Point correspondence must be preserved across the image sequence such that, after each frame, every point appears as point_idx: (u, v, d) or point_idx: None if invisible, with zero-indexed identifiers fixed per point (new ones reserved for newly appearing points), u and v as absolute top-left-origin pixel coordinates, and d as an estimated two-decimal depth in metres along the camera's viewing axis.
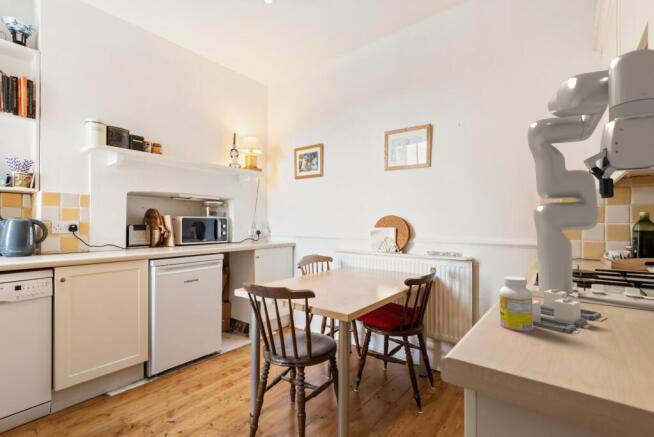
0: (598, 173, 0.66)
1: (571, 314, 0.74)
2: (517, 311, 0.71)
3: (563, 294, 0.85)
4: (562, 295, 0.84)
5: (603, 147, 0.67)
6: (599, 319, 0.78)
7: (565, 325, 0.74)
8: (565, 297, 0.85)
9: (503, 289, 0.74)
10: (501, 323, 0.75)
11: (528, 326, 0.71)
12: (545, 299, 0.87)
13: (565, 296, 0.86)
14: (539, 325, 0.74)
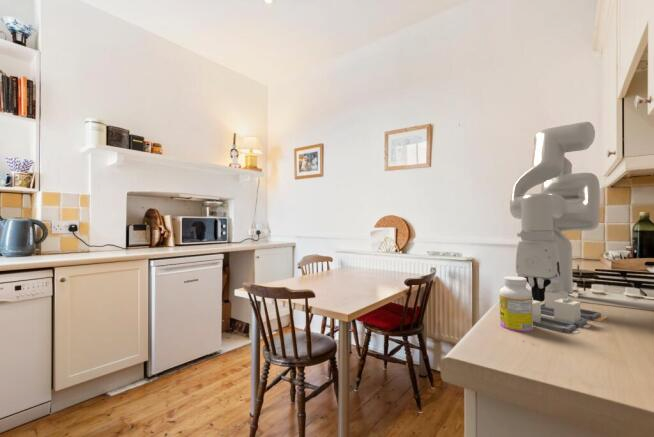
0: None
1: (571, 314, 0.74)
2: (517, 311, 0.71)
3: (564, 294, 0.85)
4: (563, 295, 0.84)
5: (557, 260, 0.86)
6: (599, 319, 0.78)
7: (565, 325, 0.74)
8: (566, 297, 0.85)
9: (503, 289, 0.74)
10: (501, 323, 0.75)
11: (528, 326, 0.71)
12: (546, 299, 0.87)
13: (566, 297, 0.85)
14: (539, 325, 0.74)
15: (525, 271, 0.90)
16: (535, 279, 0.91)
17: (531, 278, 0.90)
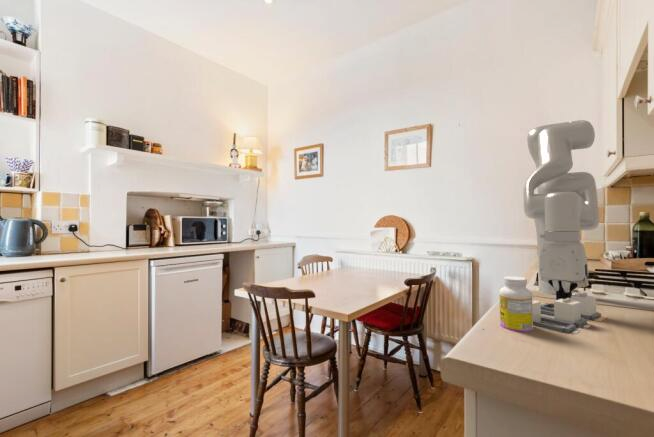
0: None
1: (571, 314, 0.74)
2: (517, 311, 0.71)
3: (592, 299, 0.79)
4: (591, 300, 0.79)
5: (584, 263, 0.80)
6: (599, 319, 0.78)
7: (565, 325, 0.74)
8: (594, 302, 0.80)
9: (503, 289, 0.74)
10: (501, 323, 0.75)
11: (528, 326, 0.71)
12: None
13: (595, 301, 0.80)
14: (539, 325, 0.74)
15: (550, 274, 0.85)
16: (560, 282, 0.86)
17: (556, 281, 0.85)
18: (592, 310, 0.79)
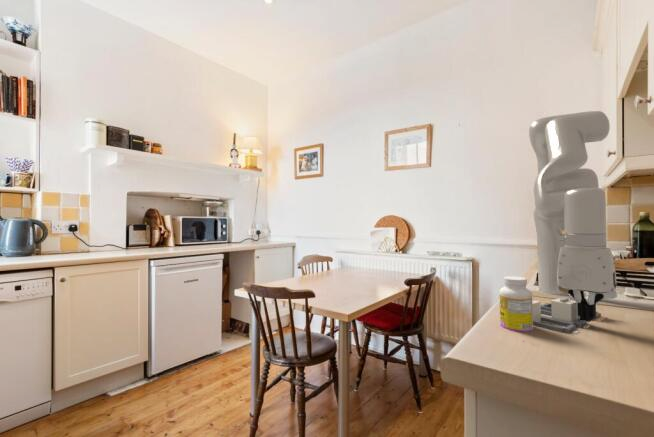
0: None
1: (568, 314, 0.75)
2: (517, 311, 0.71)
3: None
4: None
5: (612, 271, 0.69)
6: (599, 319, 0.78)
7: (565, 325, 0.74)
8: None
9: (503, 289, 0.74)
10: (501, 323, 0.75)
11: (528, 326, 0.71)
12: None
13: None
14: (539, 325, 0.74)
15: (571, 283, 0.74)
16: (581, 293, 0.75)
17: (577, 292, 0.74)
18: None
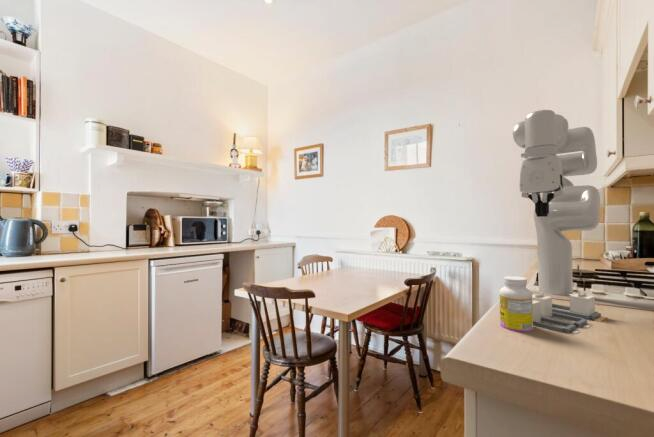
0: None
1: (543, 309, 0.79)
2: (517, 311, 0.71)
3: (591, 299, 0.80)
4: (590, 299, 0.79)
5: (560, 173, 0.88)
6: (599, 319, 0.78)
7: (565, 325, 0.74)
8: (593, 302, 0.80)
9: (503, 289, 0.74)
10: (501, 323, 0.75)
11: (528, 326, 0.71)
12: (571, 304, 0.82)
13: (593, 301, 0.80)
14: (539, 325, 0.74)
15: (529, 187, 0.93)
16: (538, 196, 0.94)
17: (535, 194, 0.93)
18: (591, 310, 0.80)
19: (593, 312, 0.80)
